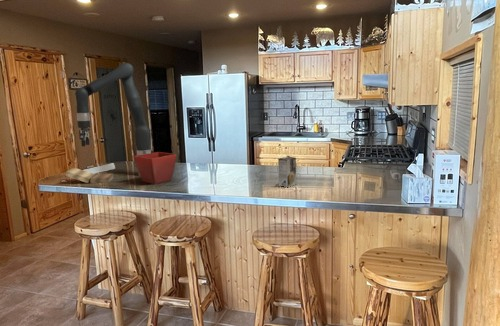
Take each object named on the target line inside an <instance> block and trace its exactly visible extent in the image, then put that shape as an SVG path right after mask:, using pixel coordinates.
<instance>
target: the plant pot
mask: <svg viewBox="0 0 500 326" xmlns="http://www.w3.org/2000/svg"><path fill="white" fill-rule="evenodd" d="M133 159H134V163H135V166H136V168H137V169H136V170H137V173H138V172H139V174H140V175H139V174H138V175H139V176H140V179H141V181H142V182H143V183H146V184H147V183H148V184H151V185H156V184H161V183H165V182H170V181H172V178H173V175H174V170H175V165H176V161H177V154H176V153H170V152H164V151H163V152H161V151H155V152H151V153H149V154H142V155H137V154H136V155H133Z"/></svg>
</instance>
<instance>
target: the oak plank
mask: <svg viewBox="0 0 500 326" xmlns="http://www.w3.org/2000/svg"><path fill="white" fill-rule="evenodd" d="M83 170H84V169H79V168H77V167H72V168H70V169H68V170H66V172H65V175H64V176H65V177H68V178H69V179H70V178H71V179H74V180H77V181H79V182H80V181H81V182H83V183H86V184H88V183H90V178H92V177H93V176H94V175H96V173H95V174H93V173H90V172H86V171H83Z"/></svg>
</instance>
